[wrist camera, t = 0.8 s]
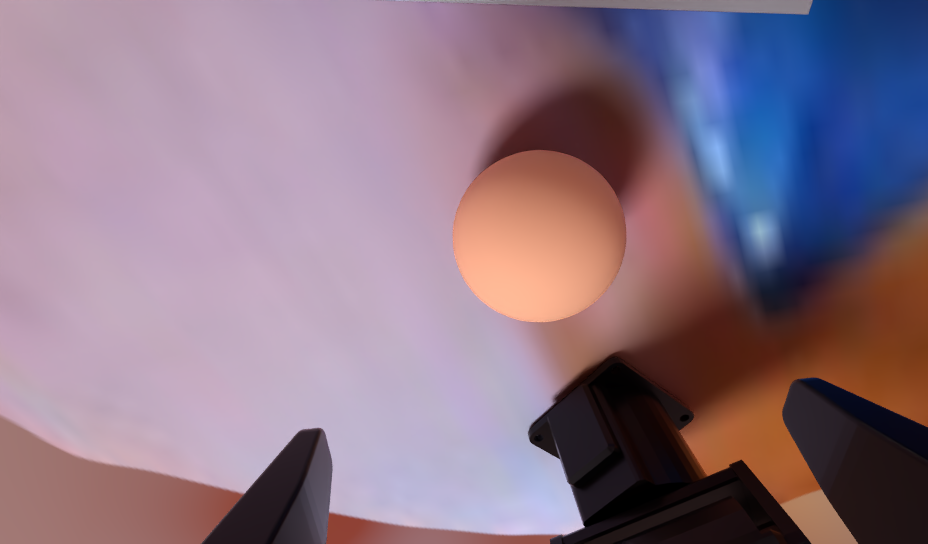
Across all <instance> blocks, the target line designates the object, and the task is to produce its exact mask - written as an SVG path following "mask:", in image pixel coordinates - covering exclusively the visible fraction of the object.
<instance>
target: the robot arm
mask: <svg viewBox="0 0 928 544" xmlns="http://www.w3.org/2000/svg"><path fill="white" fill-rule="evenodd" d="M614 367H617V368H616V369H613V368H614ZM782 415H783V420H784V423H785V425H786V427H787V429H788V431H789V432H790V434H791V436H792V438H793V439H794V441H795V443H796V445H797V446H798V448H799V450H800V452H801V454H802V455H803V457H804V459H805V461H806V462H807V464H808V466H809V468H810V469H811V471H812V473H813V475H814V477H815V478H816V480H817V482H818V484H819V485H820V487H821V489H822V490H823V492H824V494H825V495H826V497H827V498H828V500H829V502H830V503H831V504H832V506H833V508H834V509H835V510H836V512H837V513H838V515H839V516H840V518H841V519H842V521H843V522H844V524H845V525H846V526H847V528H848V529H849V531H850V532H851V534H852V535H853V536H854V538H855V539H856V541H857V542H858V544H928V427H926V426H924V425H921V424H919V423H917V422H915V421H913V420H910V419H908V418H906V417H904V416H902V415H899V414H897V413H895V412H893V411H890V410H888V409H886V408H884V407H882V406H879V405H877V404H875V403H873V402H871V401H868V400H866V399H864V398H862V397H859V396H857V395H855V394H853V393H851V392H848V391H846V390H844V389H842V388H840V387H837V386H835V385H833V384H831V383H828V382H826V381H824V380H822V379H819V378H804V379H797V380H794V381H793V382H792V383H791V386H790V389H789V392H788V395H787V398H786V401H785V404H784V407H783V411H782ZM693 418H694V414H693V413H692V411H691V410H690V408H689V407H688V406H686V405H685V404H684V403H682V402H681V401H679V400H678V399H677V398H675V397H674V396H672V395H671V394H670V393H668V392H667V391H665V390H664V389H663V388H661V387H660V386H658V385H657V384H656V383H654V382H653V381H651V380H650V379H649V378H647V377H646V376H644V375H643V374H642V373H640V372H639V371H637V370H636V369H635V368H633V367H632V366H630V365H629V364H627V363H626V362H625V361H623V360H622V359H620V358H618V357H614V358H610V359H609V360H607V361H606V362H605V363H604V364H602V365H601V366H600V367H599V368H598V369H597V370H596V371H595V372H593V373H592V374H591V375H590V376H589V377H588V378H587V379H586V380H584V381H583V382H582V383H581V384H580V385H579V386H578V387H577V388H575V389H574V390H573V391H572V392H571V393H570V394H569V395H567V396H566V397H565V398H564V399H563V400H562V401H561V402H560V403H558V404H557V405H556V406H555V407H554V408H553V409H552V410H551V411H549V412H548V413H547V414H546V415H545V416H544V417H543V418H542V419H540V420H539V421H538V422H537V423H536V424H535V425H534V426H533V427H531V428H530V430H529V431H528V436H529V440H530V442H531V443H532V444H534V445H535V446H537V447H539V448H541V449H543V450H544V451H546V452H548V453H550V454H552V455H553V456H555V457H557V458H559V459H560V460H561V463H562V466H563V469H564V473H565V476H566V479H567V482H568V483H569V484H570V485H571V488H572V492H573V495H574V498H575V501H576V504H577V507H578V510H579V513H580V516H581V519H582V522H583V525H584V526H585V527H584V528H582V529H580V530H577V531H575V532H572V533H570V534H567V535H565V536H562V535H559V536H557V537H554V538H552V539H550V544H811V543H810V541H809V540H808V539H807V537H806V536H805V535H804V534H803V532H802V531H801V530H800V529H799V527H798V526H797V525H796V524H795V523H794V521H793V520H792V519H791V518H790V517H789V516H788V514H787V513H786V512H785V511H784V509H783V508H782V507H781V506H780V505H779V503H778V502H777V501H776V500H775V499H774V497H773V496H772V495H771V494H770V493H769V492H768V490H767V489H766V488H765V487H764V486H763V484H762V483H761V482H760V481H759V480H758V478H757V477H756V476H755V475H754V474H753V472H752V471H751V470H750V469H749V468H748V466H747V465H746V464H745V463H744V462H743V461H742V460H739V461H737V462H735V463H732V464H730V465H729V466H730V467H729V468H727V469H724V470H722V471H719V472H717V473H715V474H712V475H710V476H707V475H706V473H705V472H704V470H703V469H702V467H701V465H700V464H699V462H698V461H697V459H696V457H695V456H694V454H693V453H692V451H691V449H690V448H689V446H688V444H687V443H686V441H685V440H684V438H683V436H682V435H681V433H680V432H679V430H681V429H682V428H683V427H685V426H686V425H687V424H688V423H690V422H691V421H692V420H693ZM536 435H539V436H536ZM331 481H332V458H331V454H330V450H329V447H328V443H327V439H326V435H325V432H324V430H323V429H321V428H313V429H303V430H301V431H299V432H298V433H297V434H296V435H295V436H294V437H293V439H292V440H291V441H290V442H289V443H288V444H287V445H286V447H285V448H284V449H283V450H282V451H281V452H280V453H279V455H278V456H277V457H276V458H275V459H274V460H273V462H272V463H271V464H270V465H269V466H268V467H267V468H266V470H265V471H264V472H263V473H262V474H261V475H260V476H259V478H258V479H257V480H256V481H255V482H254V483H253V485H252V486H251V487H250V488H249V489H248V490H247V491H246V493H245V494H244V495H243V496H242V497H241V498H240V500H239V501H238V502H237V503H236V504H235V505H234V506H233V508H232V509H231V510H230V511H229V512H228V513H227V515H226V516H225V517H224V518H223V519H222V520H221V521H220V523H219V524H218V525H217V526H216V527H215V528H214V530H213V531H212V532H211V533H210V534H209V535H208V536H207V538H206V539H205V540H204V541H203V542H202V543H201V544H326V539H327V527H328V515H329V504H330V493H331Z"/></svg>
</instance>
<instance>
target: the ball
mask: <svg viewBox="0 0 928 544" xmlns="http://www.w3.org/2000/svg"><path fill="white" fill-rule="evenodd" d="M625 247H626V224H625V217H624V213H623V210H622V207H621V204H620V202H619V200H618V198H617V196H616V194H615V192H614V190H613V189H612V187H611V186H610V185H609V183H608V182H607V181H606V179H605V178H604V177H603V176H602V175H601V174H600V173H599V172H598V171H596V170H595V169H594V168H593V167H591V166H590V165H588V164H587V163H585V162H583V161H582V160H580V159H578V158H576V157H573V156H571V155H568V154H565V153H560V152H556V151H549V150H530V151H525V152H519V153H516V154H513V155H510V156H508V157H505V158H503V159H501V160H499V161H497V162H496V163H494V164H492V165H491V166H489V167H488V168H487V169H485V170H484V171H483V172H482V173H481V174H480V175H479V176H478V177H477V178H476V179H475V180H474V181H473V182H472V183H471V185H470V186H469V187H468V189H467V190H466V192H465V194H464V195H463V197H462V199H461V201H460V204H459V206H458V209H457V212H456V216H455V220H454V226H453V249H454V254H455V259H456V262H457V265H458V268H459V270H460V273H461V275H462V276H463V278H464V280H465V282H466V283H467V285H468V286H469V288H470V289H471V290H472V292H473V293H474V294H475V295H476V296H477V297H478V298H479V299H480V300H481V301H482V302H484V303H485V304H486V305H488V306H489V307H490V308H492V309H493V310H495V311H497V312H499V313H501V314H503V315H506V316H508V317H510V318H514V319H517V320H521V321H528V322H550V321H556V320H560V319H564V318H567V317H570V316H572V315H575V314H577V313H579V312H581V311H582V310H584V309H586V308H587V307H589V306H590V305H592V304H593V303H594V302H595V301H596V300H598V299H599V298H600V297H601V296H602V295H603V294H604V292H605V291H606V290H607V289H608V287H609V286H610V285H611V283H612V282H613V280H614V279H615V277H616V275H617V273H618V271H619V269H620V266H621V264H622V260H623V257H624V253H625Z"/></svg>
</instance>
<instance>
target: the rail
mask: <svg viewBox="0 0 928 544" xmlns="http://www.w3.org/2000/svg"><path fill="white" fill-rule="evenodd" d="M386 1H416V2H445V3H475V4H505V5H534V6H564V7H594V8H623V9H653V10H683V11H713V12H745V13H780V14H808V13H809V10H810V7H811V4H812V1H813V0H386Z"/></svg>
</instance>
